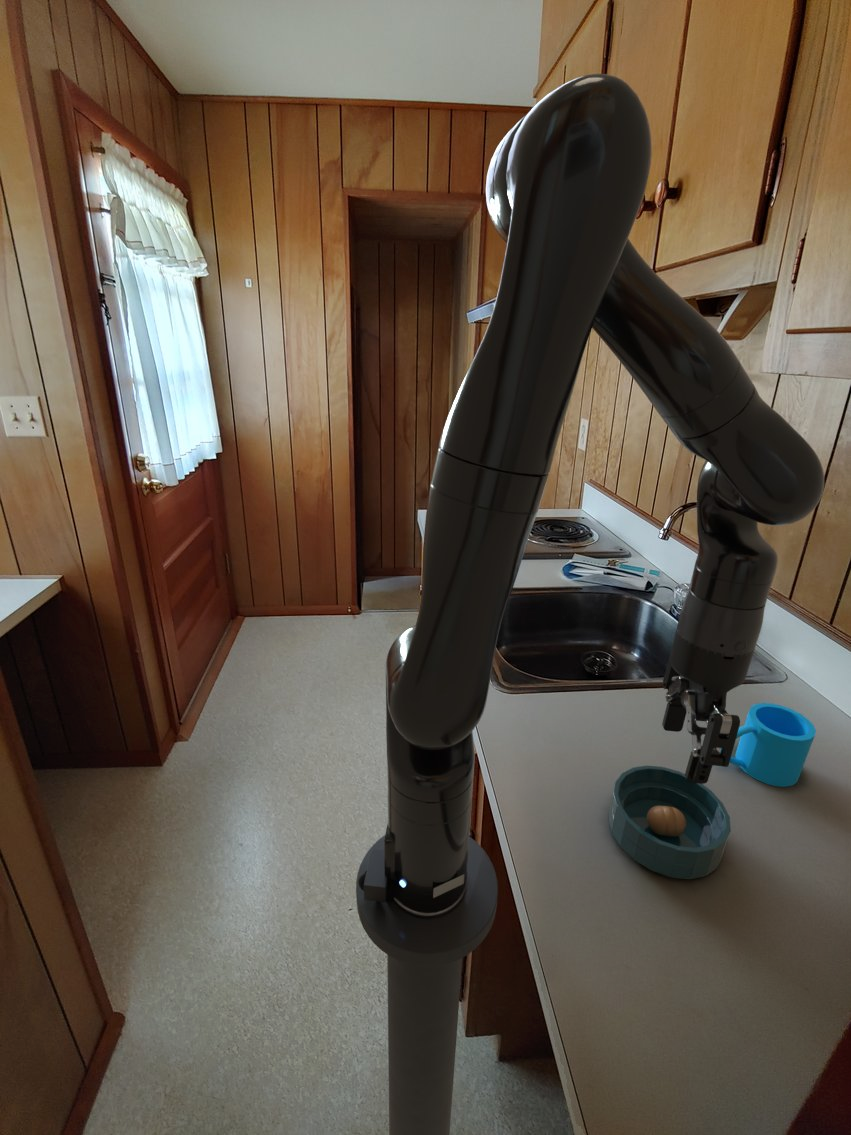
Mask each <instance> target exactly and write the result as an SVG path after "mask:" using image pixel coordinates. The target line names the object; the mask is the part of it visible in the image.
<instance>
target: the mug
mask: <svg viewBox="0 0 851 1135" xmlns="http://www.w3.org/2000/svg"><path fill="white" fill-rule="evenodd" d="M816 733H817V730H816V728H815V725H814V724H813V723H812V721H811V720H810V719H808V718H807V717H806V716H804V715H803V714H802V713H800V712H798V711H796V710H794V709H792V708H790V707H787V706H783V705H780V704H776V703H771V702H760V703H755V704H753V705H752V706H750V708H749V710H748V712H747V716H746V719H745V722H744V725H743V726H739V729H738V733H737V737H736V740H737V739H739V742H738V745H737V748H736V752H735V754H734V756H735V757H733V756H731V759H730V762H729V764H730V765H731V764H732V765H735V766H738V767H739V768H741V770H743V772H745V773H746V774H747V775H749V776H750V777H751V778H753V779H755V780H757V781H759V782H761V783H764V784H766V785H770V786H772V787H773V786H774V787H780V788H781V787H784V788H787V787H791V786H794V785H796V784H797V783H798V781H799V779H800V776H801V774H802V771H803V769H804V766H805V763H806V760H807V757H808V755H809V753H810V750H811V746H812V744H813V741H814V739H815V736H816ZM721 749H722V748H721Z"/></svg>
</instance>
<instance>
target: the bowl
mask: <svg viewBox="0 0 851 1135" xmlns="http://www.w3.org/2000/svg"><path fill="white" fill-rule="evenodd" d="M654 806H669V807H674V808H676V809H678V810H679V811H680V812H682V814H683V815H684V817H685V819H686V829H685V831H684V832H683V833H682V834H681V835H679V836H673V837H672V836H662V835H658V834H656V833H655V832H653V831H652V830H651V829H650V827H649V826H648V823H647V813H648V811H649V810H650V809H651V808H652V807H654ZM607 819H608V825H609V828H610V832H611V834H612V836H613V837H614V839H615V841H616V842H617V844H618V845H619V847H620V848H621V849H622V850H623V851H624V852H625V853H627V855H629V857H631V859H633V860H634V861H635V862H637V863H638V864H640V865H642V867H644V868H647V870H650V871H651V872H654V873H657V874H660V875H662V876H666V877H669V878H672V879H683V880H694V879H697V878H699V879H700V878H703V877H707V876H708V875H709V874H711V873H712V872H714V871H715V870H716V869H718V868H719V865H720V863H721V861H722V858H723V856H724V852H725V850H726V848H727V843H728V840H729V837H730V834H731V830H732V829H731V818H730V815H729V813H728V810H727V809H726V807H725V805H724V803H723V802H722V801H721V800H720V799H719V797H718V796H717V795H716V794H715V792H713V791H712V790H711V789H710V788H709V787H707V786H705V785H704V784H700V783H690V782H688V781H687V779H686V777H685V773H684V772H681V771H679V770H676V769H672V768H668V767H665V766H657V765H640V766H634V767H631V768H629V769H627V770H625V771H623V772H622V773H621V774H620V775H619V777H618V778H617V779H616V780H615V782H614V786H613V791H612V796H611V800H610V805H609V811H608V817H607Z"/></svg>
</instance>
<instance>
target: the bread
mask: <svg viewBox="0 0 851 1135" xmlns="http://www.w3.org/2000/svg"><path fill="white" fill-rule="evenodd" d="M647 823H648V826H649V827H650V829H651V830H652V831H653V832H655V833H656V834H658V835H662V836H672V837H673V836H679V835H681V834H682V833H683V832H684V831H685V829H686V819H685V817H684V815H683V814H682V812H680V811H679V810H678V809H676V808H674V807H669V806H654V807H652V808H651V809H650V810H649V811H648V813H647Z"/></svg>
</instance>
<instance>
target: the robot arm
mask: <svg viewBox="0 0 851 1135" xmlns="http://www.w3.org/2000/svg"><path fill="white" fill-rule="evenodd" d="M651 164H652V134H651V128H650V122H649V118H648V115H647V112H646V108H645V107H644V104H643V103H642V101H641V99H640V97H639V95H638V93H636V92H635V90H634V89H633V88H632V87H631V86H630V85H629V83H627V82H626V81H624V80H623V79H621V78H620V77H618V76H615V75H612V74H607V73H590V74H585V75H583V76H580V77H576V78H574V79H572V80H569V81H567V82H566V83H564V84H562V85H560V86H558V87H556V89H554V90H552V91H550V92H549V93H548V94H546V96H544V97H543V98H542V99H540V100H539V101H538V102H537V103H536V104H535V105H534V106H533V107H532V108H531V109H530V110H529V111H528V112H527V113H526V114H525V115H524V116H523V117H522V118H521V119H520V120H519V121H518V122H517V123H516V124H515V125H514V126H513V127H512V128H511V129H510V130H509V131H508V132H507V133H506V135H505V136H503V139H502V140H500V142H499V144H498V145H497V147H496V149H495V151H494V153H493V156H492V157H491V159H490V163H489V165H488V170H487V174H486V180H485V181H486V184H485V197H486V198H485V200H486V206H487V210H488V214H489V218H490V220H491V223H492V224H493V226H494V228H495V230H496V232H497V234H498V235H499V237H500V238H501V239H502V240H503V241H504V242H505V243H506V249H505V254H504V260H503V265H502V270H501V275H500V280H499V286H498V290H497V295H496V299H495V303H494V306H493V309H492V313H491V316H490V320H489V322H488V324H487V328H486V329H485V330H486V331H485V333H484V335H483V338H482V340H481V342H480V344H479V347H478V349H477V350H476V352H475V355H474V357H473V359H472V360H471V363H470V365H469V367H468V369H467V371H466V373H465V375H464V377H463V380H462V382H461V384H460V386H459V388H458V390H457V391H456V392H457V393H456V395H455V397H454V399H453V400H452V404H451V407H450V409H449V412H448V414H447V416H446V420H445V423H444V425H443V429H442V432H441V436H440V440H439V443H438V449H437V453H436V456H435V461H434V466H433V470H432V471H433V472H432V475H431V480H430V485H429V491H428V496H427V497H428V498H427V503H426V512H425V522H424V532H423V534H424V535H423V547H422V578H421V594H420V604H419V609H418V615H417V618H416V623H415V625H412V626H410V627H408V628H406V629H405V630H403V631H402V632H401V633H400V634H399V635H398V636H397V637H396V638H395V639H394V641H393V643H392V644H391V646H390V647H389V650H388V653H387V655H386V660H385V716H386V718H385V719H386V720H385V736H386V737H385V738H386V768H387V769H386V771H387V824H386V829H385V833H384V835H385V838H384V850H376V849H372V850H371V855H370V859H369V864H368V868H367V871H365V873H363V874H362V875H361V876H360V877H359V880H358V883H359V886H360V888H361V889H362V890H363V891H364V900H369V901H378V902H386V901H391V902H394V903H395V904H396V905H397V906H398V907H399V908H400V909H401V910H402V911H404V912H405V913H407V914H409V915H411V916H414V917H417V918H422V919H433V918H438V917H442V916H444V915H447V914H448V913H450V912H451V911H453V910H454V909H455V908H456V907H457V906H458V905H459V904H460V902H461V901H462V899H463V897H464V895H465V892H466V886H467V861H468V847H469V837H470V831H471V830H470V828H471V818H472V802H473V789H474V788H473V787H474V775H475V761H476V756H475V755H476V753H475V744H474V733H473V731H474V730H475V728H476V727H477V726H478V724H479V722H480V721H481V718H482V717H483V715H484V712H485V709H486V705H487V701H488V695H489V689H490V685H491V684H490V683H491V678H492V671H493V667H494V661H495V654H496V649H497V645H498V640H499V634H500V630H501V626H502V622H503V619H504V615H505V614H506V609H507V606H508V603H509V600H510V597H511V595H512V591H513V589H514V585H515V583H516V580H517V577H518V575H519V574H518V573H519V571H520V567H521V565H522V560H523V557H524V554H525V552H526V547H527V544H528V541H529V538H530V535H531V532H532V529H533V527H534V524H535V521H536V519H537V515H538V512H539V509H540V506H541V503H542V499H543V496H544V493H545V489H546V486H547V482H548V479H549V476H550V472H551V470H552V466H553V461H554V458H555V453H556V450H557V446H558V442H559V438H560V434H561V432H562V428H563V425H564V422H565V419H566V415H567V412H568V409H569V405H570V403H571V399H572V396H573V394H574V393H573V392H574V389H575V386H576V382H577V378H578V375H579V372H580V367H581V364H582V361H583V357H584V354H585V351H586V347H587V345H588V344H587V343H588V341H589V338H590V335H591V332H592V330H594V332H595V333H596V335H598V337H599V338H600V340H602V342H604V344H605V345H606V346H607V347H608V348H609V350H610V351H611V352H612V353H613V354H614V356H615V357H616V358H617V359H618V360H619V362H620V363H621V365H622V366H623V367H624V368H625V370H626V371H627V372H628V374H629V375H630V376H631V378H632V379H633V380H634V381H635V383H636V384H637V385H638V387H639V388H640V390H641V391H642V393H643V394H644V395H645V396H646V398H647V399H648V401H649V402H650V404H651V405H652V406H653V408H654V410H656V412H657V413H658V415H659V416H660V417H661V419H662V420H663V422H664V423H665V425H666V426H667V427H668V428H669V430H670V431H671V433H672V434H673V436H674V437H675V438H676V439H677V441H678V443H680V444H681V445H682V446H683V447H684V448H685V449H686V450H687V451H688V452H690V453H691V454H693V455H695V456H697V457H699V458H700V459H702V460H705V461H704V462H703V464H702V467H701V469H700V471H699V472H700V473H699V475H698V478H697V486H696V530H697V544H698V553H697V556H696V559H695V563H694V566H693V570H692V575H691V578H690V582H689V586H688V590H687V593H686V596H685V597H684V600H683V602H682V605H681V608H680V612H679V617H678V620H677V624H676V628H675V634H674V638H673V642H672V645H671V649H670V653H669V656H668V657H669V658H668V661H667V664H666V668H665V672H664V676H663V679H662V684H661V685H662V688H663V690H667V692H666V693H665V701H666V707H665V711H664V715H663V718H662V723H661V726H662V728H663V730H664V731H666V732H674V733H675V732H678V733H679V732H681V731H683V728H684V725H685V724H684V723H685V720H686V731H687V732H688V734H690V735H691V748H692V750H691V752H690V755H689V757H688V761H687V765H686V769H685V771H684V772H685V773H684V774H685V777H686V779H687V781H688V782H690V783H700V784H703V785H704V784H707V783H708V782H709V778H710V776H711V773H712V772H711V771H712V768H713V766H714V767H715V766H716V767H722V768H723V767H724V768H728V767H729V765H730V759H731V757H732V754H733V752H734V747H735V743H736V740H737V739H736V737H737V733H738V729H739V727H741V718H740V716H739V715H737V714H730V713H729V712H728V711H727V709H726V708H727V694H728V692H730V691H731V690H734V689H736V688H738V687H740V686H741V685H742V684H743V683H744V682H745V681H746V679H747V675H748V672H749V670H750V666H751V663H752V659H753V656H754V653H755V651H756V650H755V649H756V647H757V643H758V640H759V638H760V634H761V630H762V627H763V622H764V615H765V609H766V604H767V601H768V597H769V594H770V591H771V588H772V585H773V581H774V578H775V575H776V572H777V568H778V562H779V557H778V553H777V551H776V550H775V548H774V547H773V546H772V545H771V544H770V543H769V541H767V540H766V539H765V538H764V537H763V536H762V535H761V533H760V530H759V525H758V524H762V525H767V526H775V527H782V526H787V525H788V526H789V525H792V524H796V523H797V522H799V521H802V520H804V519H805V518H807V517H808V516H809V515H811V513H812V512H813V511H814V510H815V509H816V507H818V505H819V503H820V501H821V499H822V497H823V494H824V489H825V473H824V469H823V466H822V462H821V460H820V458H819V456H818V454H817V453H816V451H815V450H814V449H813V447H812V446H811V444H810V443H809V442H807V440H806V439H805V438H804V437H803V436H802V435H801V434H800V433H799V432H798V431H797V430H796V429H795V428H794V427H793V426H792V425H791V424H790V423H789V422H787V420H786V419H785V418H784V417H783V416H782V415H781V414H779V413H778V412H777V411H776V410H775V409H774V408H772V407H771V406H770V405H769V404H768V403H766V401H764V400H763V398H762V397H761V396H760V394H759V391H758V390H757V389H756V388H757V387H756V386H755V384H754V383H753V381H752V379H751V378H750V376H749V374H748V373H747V371H746V370H745V368H744V366H743V365H742V362H741V361H740V359H739V358H738V357H737V354H735V352H734V350H733V349H732V347H731V346H730V344H729V343H728V342H727V340H726V339H725V338H724V336H723V335H722V334H721V333H720V331H718V329H717V328H716V327H715V326H714V325H713V324H712V323H711V322H710V321H708V319H707V318H706V317H704V315H702V314H701V313H700V312H699V311H698V310H697V309H696V308H695V307H693V306H692V305H691V304H690V303H689V302H687V300H685V299H684V298H683V297H682V296H681V295H680V294H678V292H676V290H674V289H672V287H671V286H669V285H668V283H666V282H665V281H664V280H663V279H662V278H661V277H660V276H659V275H658V274H657V273H656V272H655V271H654V270H653V268H652V267H651V266H650V265H649V264H648V263H647V262H646V261H645V259H644V258H643V257H642V255H641V254H640V253H639V252H638V250H637V249H636V247H635V246H634V245H633V243H632V242H631V240H630V239H629V237H630V234H631V231H632V230H633V226H634V225H635V221H636V219H637V217H638V214H639V211H640V209H641V206H642V203H643V200H644V197H645V193H646V190H647V186H648V181H649V176H650V172H651V171H650V170H651ZM674 676H676V678H674V679H673V677H674ZM697 722H705V724H706V726H705V727H703V726H699V725H698V724H697ZM703 735H704V737H703V741H702V736H703ZM721 748H722V749H721Z"/></svg>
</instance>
